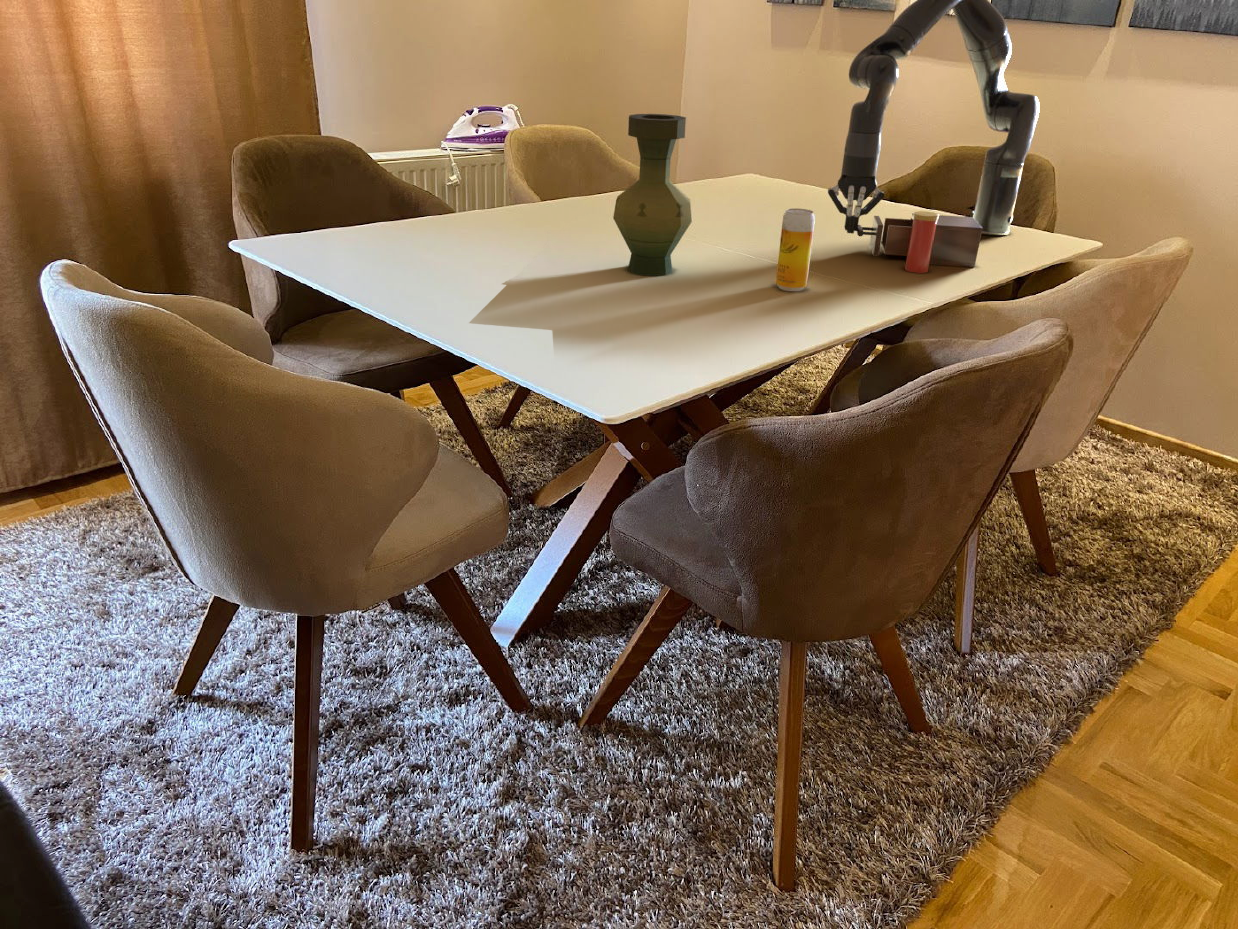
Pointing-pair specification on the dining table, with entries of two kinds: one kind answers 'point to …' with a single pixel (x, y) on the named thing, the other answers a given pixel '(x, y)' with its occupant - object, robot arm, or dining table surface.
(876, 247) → the drawer
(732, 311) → the dining table surface
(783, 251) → the beer can
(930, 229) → the tea tin
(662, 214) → the vase
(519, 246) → the dining table surface
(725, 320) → the dining table surface
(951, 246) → the cabinet
